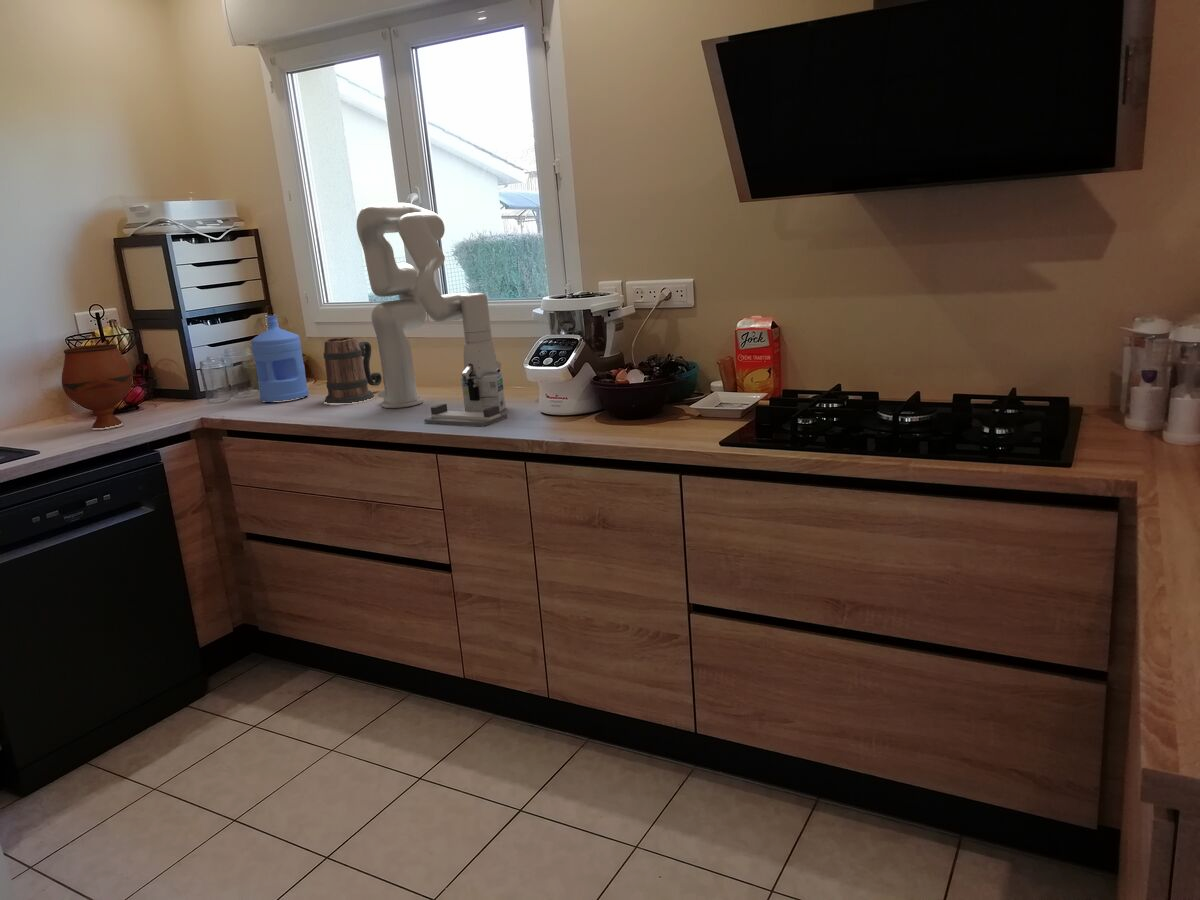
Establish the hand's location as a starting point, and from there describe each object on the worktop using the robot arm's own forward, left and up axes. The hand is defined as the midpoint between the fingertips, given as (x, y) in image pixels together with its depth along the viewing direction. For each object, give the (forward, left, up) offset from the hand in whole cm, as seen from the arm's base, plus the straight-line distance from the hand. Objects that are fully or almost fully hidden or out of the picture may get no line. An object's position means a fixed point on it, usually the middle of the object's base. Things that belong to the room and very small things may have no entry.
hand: (485, 397), depth 249 cm
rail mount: (+2, -12, -4) cm, 13 cm away
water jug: (-86, +3, -4) cm, 87 cm away
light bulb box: (0, 0, -4) cm, 4 cm away
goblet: (-111, -44, -4) cm, 120 cm away
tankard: (-59, +9, -4) cm, 60 cm away
